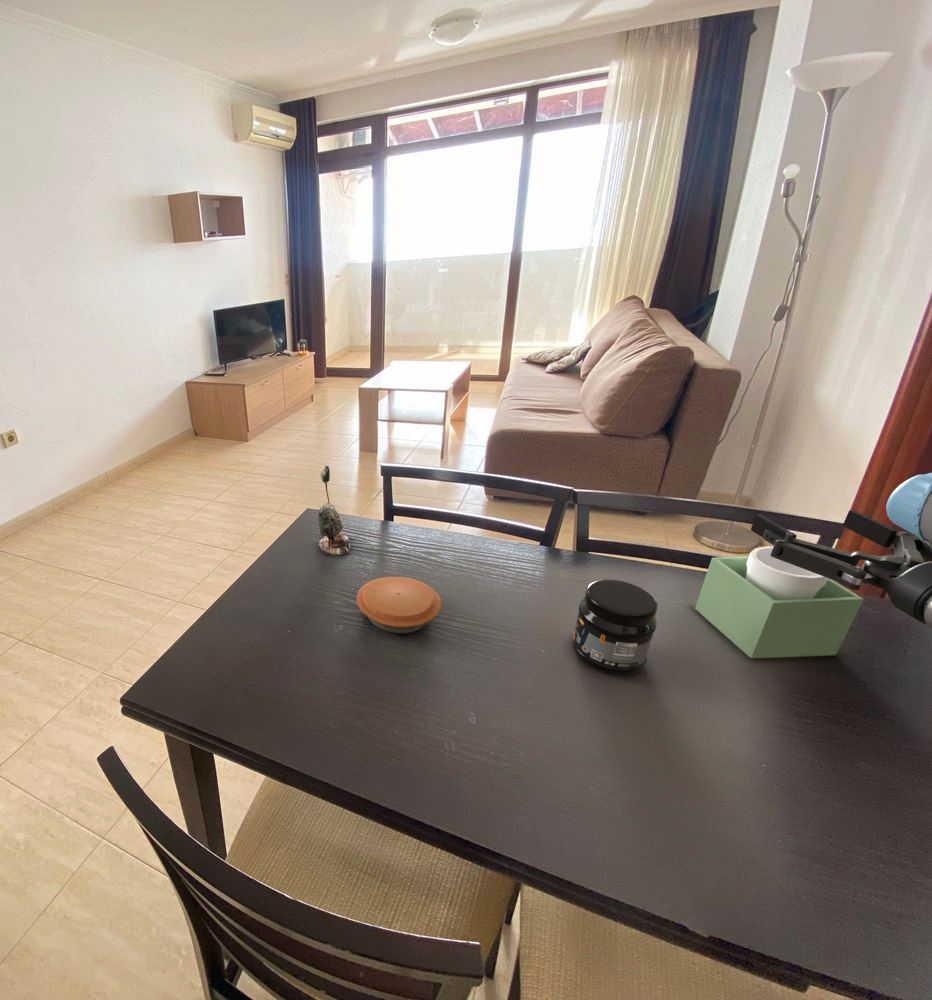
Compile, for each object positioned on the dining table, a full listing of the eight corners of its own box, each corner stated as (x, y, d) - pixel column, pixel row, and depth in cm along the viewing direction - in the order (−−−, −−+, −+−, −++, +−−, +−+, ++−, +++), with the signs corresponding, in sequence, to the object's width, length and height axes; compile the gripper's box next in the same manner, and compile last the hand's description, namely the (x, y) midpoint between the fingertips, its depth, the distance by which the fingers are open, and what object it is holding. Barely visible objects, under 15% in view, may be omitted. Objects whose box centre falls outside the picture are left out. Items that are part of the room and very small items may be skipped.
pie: (369, 585, 112) (369, 564, 110) (446, 600, 106) (447, 579, 104) (346, 630, 100) (345, 608, 98) (431, 650, 93) (433, 627, 91)
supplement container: (597, 627, 96) (611, 570, 90) (659, 663, 87) (678, 602, 82) (556, 647, 92) (568, 589, 87) (616, 687, 83) (633, 625, 78)
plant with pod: (308, 557, 124) (304, 477, 115) (325, 534, 133) (323, 459, 124) (342, 563, 121) (340, 482, 112) (357, 539, 130) (357, 462, 121)
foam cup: (742, 602, 97) (765, 540, 91) (810, 629, 90) (839, 563, 84) (717, 623, 93) (740, 559, 87) (786, 652, 85) (816, 585, 80)
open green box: (769, 605, 97) (790, 553, 93) (836, 655, 86) (863, 599, 81) (694, 608, 98) (711, 557, 93) (750, 658, 86) (773, 602, 82)
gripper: (832, 631, 67) (710, 544, 86) (1050, 624, 65) (877, 537, 84) (856, 581, 63) (724, 502, 83) (1086, 572, 62) (897, 494, 81)
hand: (801, 520), depth 83 cm, fingers open, 13 cm apart
